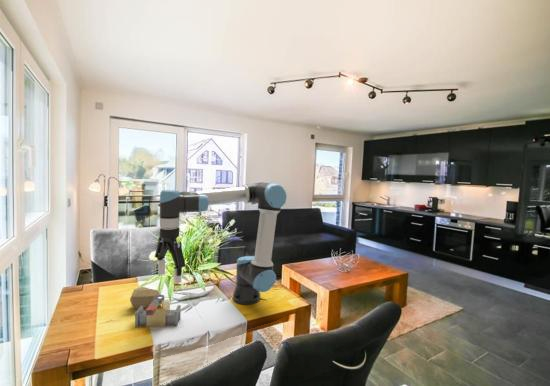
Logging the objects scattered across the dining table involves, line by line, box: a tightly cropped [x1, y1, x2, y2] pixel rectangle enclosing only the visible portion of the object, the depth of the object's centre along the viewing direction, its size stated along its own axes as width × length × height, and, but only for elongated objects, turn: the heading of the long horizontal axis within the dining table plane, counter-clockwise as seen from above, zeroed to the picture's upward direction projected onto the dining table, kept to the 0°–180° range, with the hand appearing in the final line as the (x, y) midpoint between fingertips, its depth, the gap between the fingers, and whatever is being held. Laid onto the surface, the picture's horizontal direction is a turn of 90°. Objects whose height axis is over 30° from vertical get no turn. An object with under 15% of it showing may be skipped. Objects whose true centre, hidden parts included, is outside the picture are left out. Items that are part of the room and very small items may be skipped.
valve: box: [134, 301, 182, 328], centre depth 126 cm, size 18×7×10 cm, turn 96°
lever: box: [145, 294, 165, 316], centre depth 120 cm, size 14×5×2 cm, turn 6°
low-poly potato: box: [129, 286, 161, 310], centre depth 139 cm, size 15×11×12 cm
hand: (169, 278), depth 115 cm, fingers open, 12 cm apart
